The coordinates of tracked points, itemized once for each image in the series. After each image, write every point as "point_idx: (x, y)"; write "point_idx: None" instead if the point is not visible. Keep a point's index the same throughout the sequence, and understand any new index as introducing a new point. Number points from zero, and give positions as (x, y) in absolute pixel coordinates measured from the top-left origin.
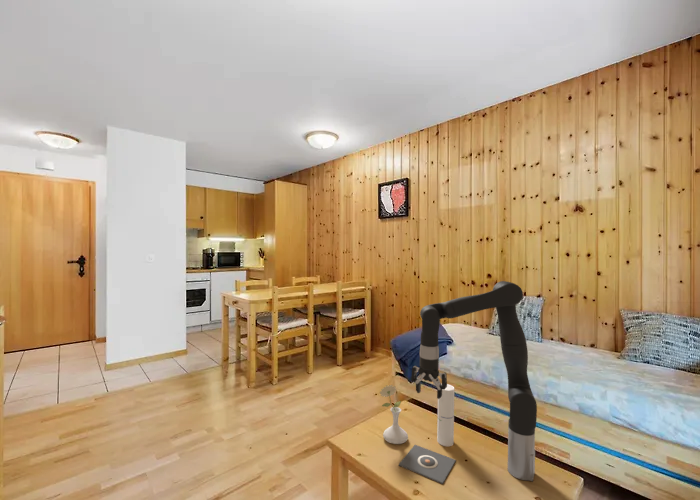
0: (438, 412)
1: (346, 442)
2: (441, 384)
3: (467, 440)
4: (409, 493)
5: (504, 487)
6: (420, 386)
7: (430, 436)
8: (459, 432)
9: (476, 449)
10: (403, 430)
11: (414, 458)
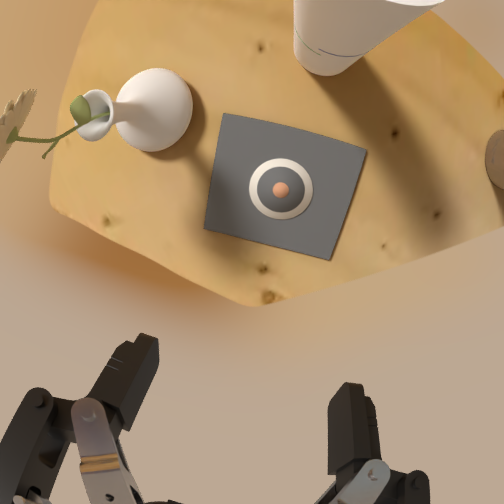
0: (302, 31)
1: (66, 192)
2: (379, 493)
3: None
4: (255, 304)
5: (464, 222)
6: (135, 379)
7: (266, 37)
8: None
9: (422, 71)
10: (166, 95)
11: (238, 188)
